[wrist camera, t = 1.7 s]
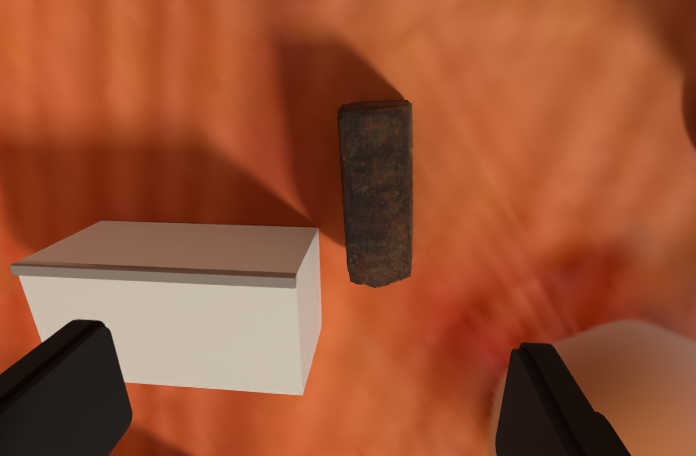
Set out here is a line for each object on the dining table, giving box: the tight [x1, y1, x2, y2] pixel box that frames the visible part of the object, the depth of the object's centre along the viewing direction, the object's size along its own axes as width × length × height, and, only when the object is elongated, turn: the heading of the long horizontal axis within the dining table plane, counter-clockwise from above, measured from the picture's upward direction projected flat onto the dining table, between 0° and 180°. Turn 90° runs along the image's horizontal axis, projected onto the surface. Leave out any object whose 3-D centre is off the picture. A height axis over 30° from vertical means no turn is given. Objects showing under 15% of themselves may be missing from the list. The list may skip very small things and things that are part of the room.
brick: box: [337, 100, 413, 288], centre depth 23 cm, size 11×4×5 cm, turn 3°
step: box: [10, 221, 322, 395], centre depth 25 cm, size 16×8×7 cm, turn 91°
